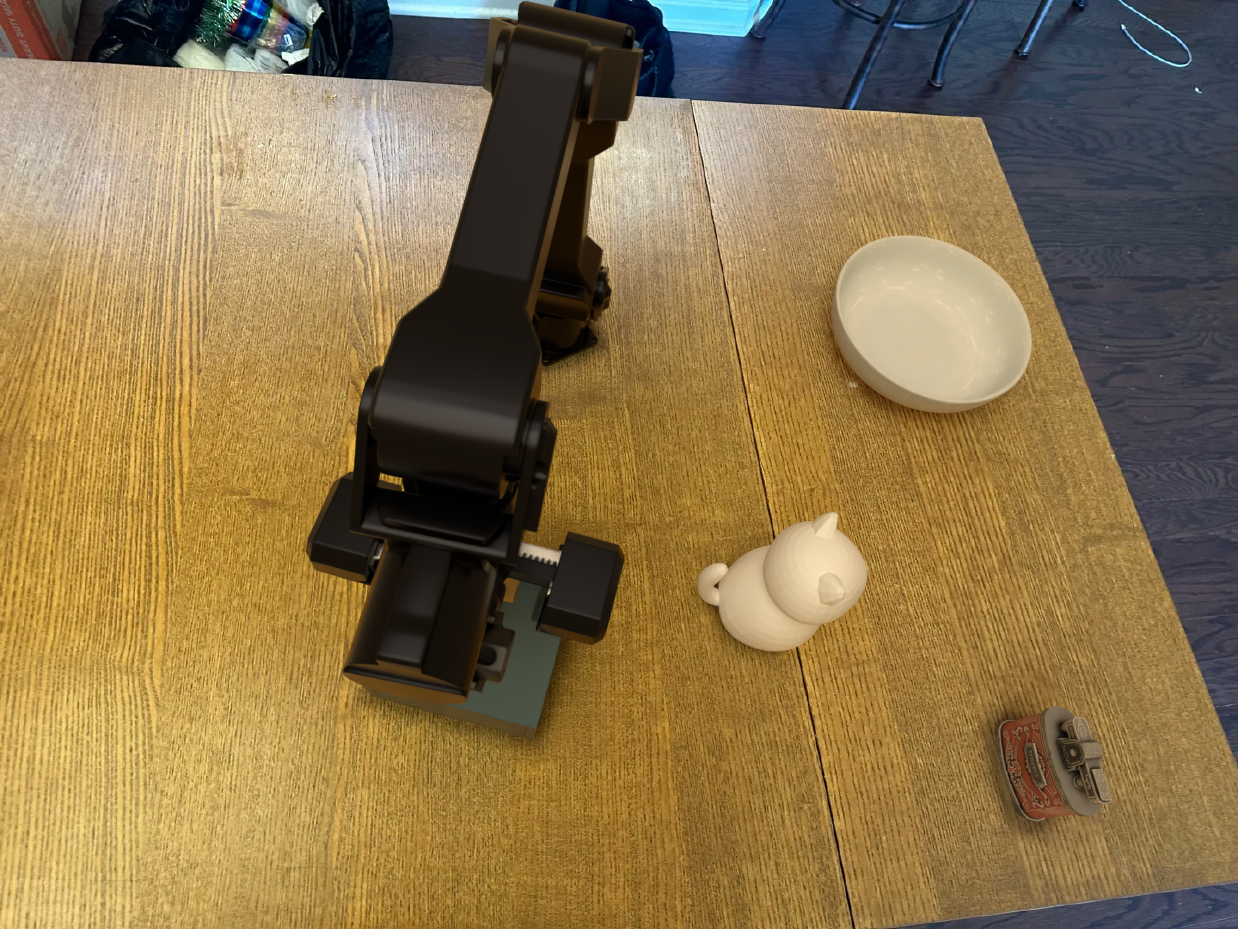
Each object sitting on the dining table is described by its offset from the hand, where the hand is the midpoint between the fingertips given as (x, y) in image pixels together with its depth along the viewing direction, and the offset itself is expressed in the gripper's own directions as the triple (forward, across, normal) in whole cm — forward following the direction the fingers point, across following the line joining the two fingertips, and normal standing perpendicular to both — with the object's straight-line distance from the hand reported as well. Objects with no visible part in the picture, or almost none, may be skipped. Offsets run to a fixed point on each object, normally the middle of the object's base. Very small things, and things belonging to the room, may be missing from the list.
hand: (473, 597), depth 58 cm
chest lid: (+3, 0, -1) cm, 3 cm away
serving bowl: (+12, +35, +42) cm, 56 cm away
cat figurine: (+12, +23, +9) cm, 27 cm away
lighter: (+12, +47, +1) cm, 49 cm away
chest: (+12, 0, -1) cm, 12 cm away
